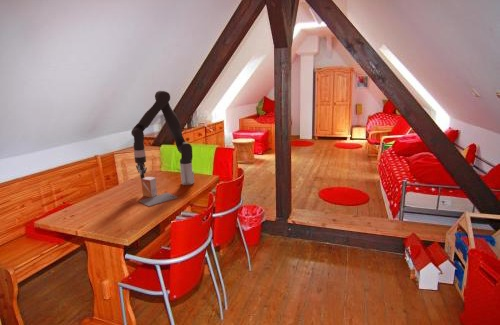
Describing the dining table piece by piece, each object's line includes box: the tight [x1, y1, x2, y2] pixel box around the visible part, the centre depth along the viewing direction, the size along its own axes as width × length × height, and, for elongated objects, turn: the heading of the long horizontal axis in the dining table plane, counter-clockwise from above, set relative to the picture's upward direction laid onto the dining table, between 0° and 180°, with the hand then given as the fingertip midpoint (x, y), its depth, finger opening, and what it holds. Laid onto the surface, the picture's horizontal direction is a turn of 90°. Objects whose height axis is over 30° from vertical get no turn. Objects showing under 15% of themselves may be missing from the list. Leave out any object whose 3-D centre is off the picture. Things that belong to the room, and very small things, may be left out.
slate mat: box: [138, 192, 179, 208], centre depth 210 cm, size 22×14×1 cm, turn 134°
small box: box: [140, 176, 158, 198], centre depth 217 cm, size 8×6×13 cm
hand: (142, 178), depth 223 cm, fingers closed
